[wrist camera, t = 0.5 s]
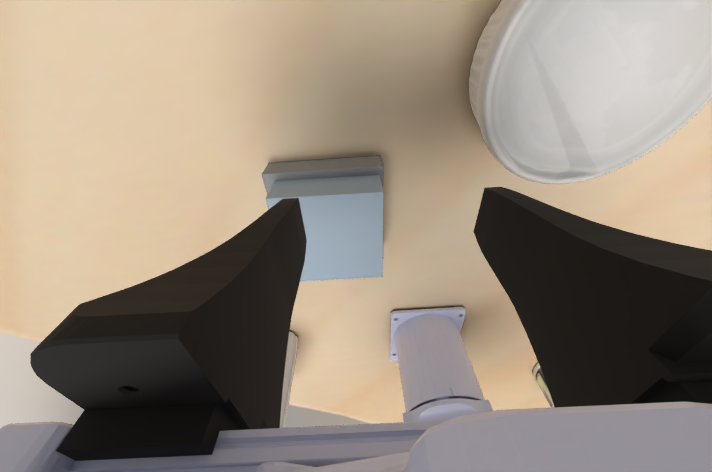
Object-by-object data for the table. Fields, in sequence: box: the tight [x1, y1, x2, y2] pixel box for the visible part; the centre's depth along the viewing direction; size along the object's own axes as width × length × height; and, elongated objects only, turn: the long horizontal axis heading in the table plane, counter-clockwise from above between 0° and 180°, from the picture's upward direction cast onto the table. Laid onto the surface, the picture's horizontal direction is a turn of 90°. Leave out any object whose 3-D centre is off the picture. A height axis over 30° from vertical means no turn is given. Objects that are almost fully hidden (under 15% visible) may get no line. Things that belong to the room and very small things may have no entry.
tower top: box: [266, 175, 383, 281], centre depth 19 cm, size 7×7×2 cm
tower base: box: [262, 156, 383, 195], centre depth 21 cm, size 8×8×2 cm
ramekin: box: [469, 0, 712, 184], centre depth 14 cm, size 11×11×5 cm
